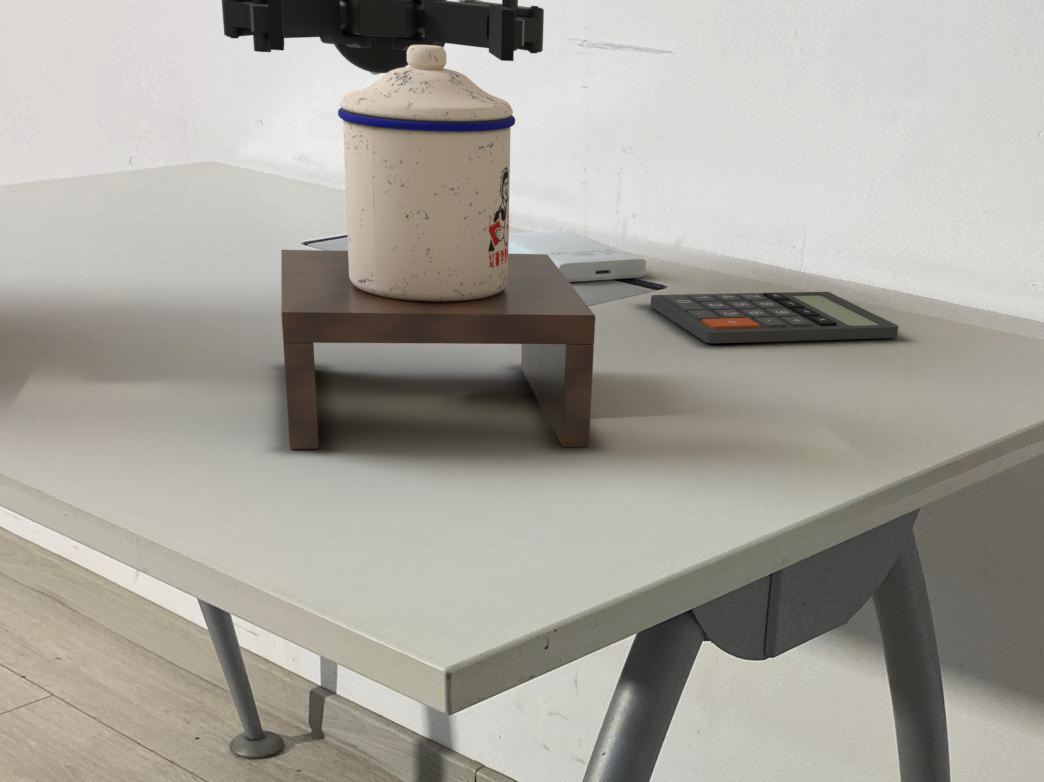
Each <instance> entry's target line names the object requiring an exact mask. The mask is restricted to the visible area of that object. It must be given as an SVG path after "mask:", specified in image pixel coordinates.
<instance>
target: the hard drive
mask: <svg viewBox="0 0 1044 782" xmlns="http://www.w3.org/2000/svg"><path fill="white" fill-rule="evenodd" d="M508 254H547V255H548V256H549V257H550V258H551V260H552V261H553V262H554V263H555V265H556V266H557V267H558V269H559V270H560V271H561V272H562V274H563V275H564V276H565V277H566V279H567V280H568V281H569V283H577V282H578V283H579V282H591V281H592V282H594V281H610V280H622V279H624V280H625V279H636V278H637V279H639V278H642V277H643V276H645V275H646V274H647V273H646V272H647V260H646V259H644V258H642V257H639V256H637V255H634V254H631V253H629V252H626V251H623V250H621V249H619V248H617V247H614V246H611V245H608V244H606V243H603V242H601V241H599V240H595V239H593V238H590V237H588V236H586V235H583V234H580V233H577V232H575V231H573V230H547V231H545V230H544V231H526V232H525V231H524V232H509V244H508Z"/></svg>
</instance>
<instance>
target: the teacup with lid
mask: <svg viewBox="0 0 1044 782" xmlns="http://www.w3.org/2000/svg"><path fill="white" fill-rule="evenodd" d="M407 62H408V64H409V65H408V66H406V67H404V68H397V69H394V70H391V71H389V72H388V73H384V74H383V75H382V76H381V77H379V78H378V79H377V80H375V81H374V82H373V83H371V84H370V85H367V86H365V87H364V88H360V89H358V90H353V91H351V92H347V93H346V94H345V95H344V96H343V97H342V98H341V100H340V103H339V106H340V108H338V110H337V116H338V118H340V119H341V120H342V123H343V125H342V127H343V152H344V158H343V159H344V179H345V181H344V182H345V205H346V207H345V209H346V231H347V236H346V237H347V251H348V262H349V278H350V280H351V282H352V283H353V285H354V286H356V287H357V288H359V289H360V290H363V291H365V292H368V293H371V294H374V295H378V296H382V297H388V298H394V299H401V300H411V301H429V302H449V301H466V300H474V299H480V298H485V297H489V296H492V295H495V294H497V293H499V292H501V291H502V290H503V289H504V288H505V287H506V285H507V283H508V244H509V233H510V182H511V181H510V177H511V176H510V175H511V128H512V127H513V126H515V124H516V118H515V116H514V115H513V114H514V110H513V108H512V105H511V104H510V103H509V102H508V101H506V100H505V99H503V98H501V97H497V96H495V95H493V94H491V93H488V92H486V91H485V90H483V89H482V88H481V87H479V86H478V85H477V84H476V83H474V82H473V80H471V79H470V78H469V77H468V76H466V75H465V74H464V73H461V72H459V71H456V70H454V69H453V70H452V69H449V68H445V67H446V65H447V52H446V50H445V48H444V47H441V46H434V45H411V46H410V47H409V48H408V50H407Z"/></svg>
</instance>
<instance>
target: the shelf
mask: <svg viewBox="0 0 1044 782" xmlns="http://www.w3.org/2000/svg"><path fill="white" fill-rule="evenodd" d="M280 254H281V256H280V258H281V259H280V260H281V261H280V262H281V263H280V264H281V265H280V266H281V267H280V268H281V269H280V270H281V271H280V272H281V275H280V276H281V277H280V278H281V279H280V285H281V287H280V288H281V293H280V294H281V295H280V297H281V298H280V299H281V303H280V304H281V305H280V306H281V310H280V311H281V313H280V314H281V325H282V326H281V330H282V345H283V360H284V361H283V362H284V377H285V394H286V411H287V424H288V426H287V427H288V440H289V441H288V442H289V449H290V450H319V448H320V443H319V442H320V441H319V423H318V422H319V421H318V404H317V401H318V400H317V383H316V365H315V346H314V344H445V345H446V344H447V345H448V344H452V345H453V344H457V345H461V344H462V345H463V344H464V345H467V344H468V345H469V344H470V345H474V344H475V345H476V344H477V345H478V344H479V345H482V344H483V345H521V353H520V354H521V357H520V358H521V359H520V369H521V371H522V373H523V375H524V377H525V379H526V380H527V382H528V384H529V386H530V389H531V390H532V392H533V394H534V396H535V398H536V399H537V401H538V403H539V406H540V407H541V409H542V411H543V413H544V414H545V416H546V419H547V420H548V422H549V424H550V426H551V428H552V430H553V432H554V433H555V436H556V437H557V439H558V441H559V442H560V444H561V447H562V448H588V447H589V446H590V432H591V413H592V391H593V375H594V374H593V373H594V372H593V371H594V349H595V336H596V335H595V334H596V333H595V332H596V315H595V313H594V312H593V311H592V309H591V308H590V306H588V304H587V303H586V302H585V300H584V299H583V297H582V296H581V295H580V294H579V293H578V291H577V290H576V288H575V287H574V286H573V285H572V283H571V282H569V281H568V280H567V279H566V277H565V276H564V275H563V274H562V272H561V271H560V270H559V269H558V267H557V266H556V265H555V263H554V262H553V261H552V260H551V258H550V257H549V256H548V255H547V254H508V283H507V285H506V287H505V288H504V289H503V290H502V291H501V292H499V293H497V294H495V295H492V296H489V297H485V298H480V299H474V300H466V301H449V302H429V301H411V300H401V299H394V298H388V297H382V296H378V295H374V294H371V293H368V292H365V291H363V290H360V289H359V288H357V287H356V286H354V285H353V283H352V282H351V280H350V278H349V262H348V250H322V249H321V250H319V249H318V250H317V249H316V250H315V249H281V253H280Z"/></svg>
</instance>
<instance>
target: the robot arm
mask: <svg viewBox="0 0 1044 782" xmlns="http://www.w3.org/2000/svg"><path fill="white" fill-rule="evenodd" d="M544 9H545V8H543V7H539V5H530V6H523V5H522V6H521V5H519V0H501V3H497V2H488V1H483V0H457V1H454V0H453V1H452V0H221V10H222V24H223V35H224V36H225V37H228V38H230V39H239V38H240V37H249V36H250V37H251V36H252V40H253V51H254V52H257V53H272V51H285V39H301V38H303V39H304V38H319V39H320V41H321V43H323V44H327V45H334V47H335V49H336V50H337V51H338V52H339V54H340V55H341V56H342V57H343V58H344V59H345V60H346V61H348V62H349V63H350V64H352V65H353V66H354V67H356V68H359V69H360V70H363V71H366V72H369V73H370V74H372V76H373V75H374V76H377V75H380V74H386V73H388V72H389V71H391V70H394V69H397V68H404V67H409V64H408V62H407V50H408V48H409V47H410V46H411V45H434V46H441V47H443V48H444V47H445V45H446V44H449V45H458V46H467V47H474V48H481V49H482V48H484V49H488V53H489V54H491V55H492V56H494V57H495V58H496V59H498V60H499V61H501V62H514V61H515V60H514V59H515V58H514V57H515V56H514V55H515V51H518V50H521V51H527V52H529V54H538V53H542V52H543V50H544V22H545V21H544V20H545V18H544V17H545V10H544Z"/></svg>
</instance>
